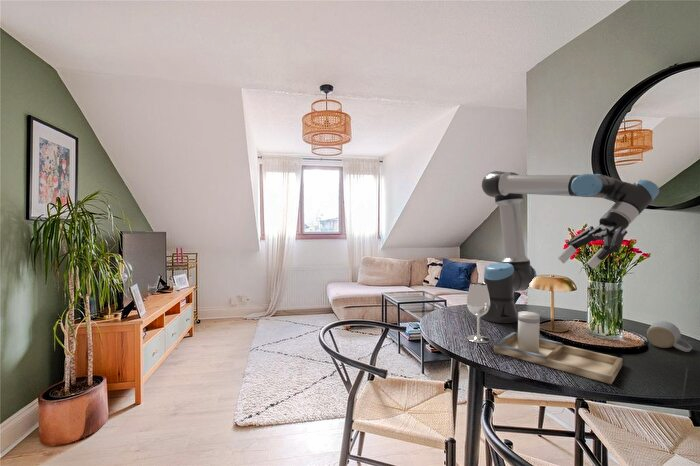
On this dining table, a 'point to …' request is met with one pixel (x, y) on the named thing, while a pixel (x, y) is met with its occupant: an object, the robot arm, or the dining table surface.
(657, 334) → the ceramic mug
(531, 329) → the domed white canister
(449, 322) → the dining table surface
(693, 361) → the dining table surface
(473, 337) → the wineglass
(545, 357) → the bay tray
